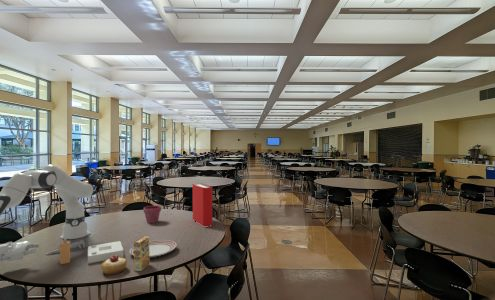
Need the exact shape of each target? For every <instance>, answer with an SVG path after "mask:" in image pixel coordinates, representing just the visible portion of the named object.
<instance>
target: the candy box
mask: <svg viewBox="0 0 495 300" xmlns="http://www.w3.org/2000/svg"><path fill="white" fill-rule="evenodd" d="M149 241H150V237H149V236H141V237H140V238H138V239H137V240H135V241H134V242H133V247H134V255H133V265H134V266H133V267H134V268H133V270H134V272H142V271H143V270H145V269H146V268H147V267H149V266H150V263H151V261H150V259H151V258H150V256H149Z"/></svg>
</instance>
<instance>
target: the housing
mask: <svg viewBox="0 0 495 300" xmlns="http://www.w3.org/2000/svg"><path fill="white" fill-rule="evenodd" d="M114 255H117V256H118V258H119V257H121V258H122V257H123V258H124V247H123V244H122V242H121V241H120V240H118V241H112V242H107V243H99V244H94V245H89V246H87V264H94V263H98V262H104V261H106V260H108V259H110V258H111V257H112V256H114Z"/></svg>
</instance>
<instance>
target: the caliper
mask: <svg viewBox="0 0 495 300" xmlns="http://www.w3.org/2000/svg"><path fill="white" fill-rule="evenodd" d="M85 246H86V244H85V240H84V239H79V241H75V242H73V243H70V249H74V248H77V247H78V248H79V249H80V250H82V247H83V249H85ZM58 252H59V253H60V248H57V249H54V250H51V251H48V252H47V253H45V255H44V256H49V255H53V254H55V253H58Z"/></svg>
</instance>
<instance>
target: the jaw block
mask: <svg viewBox="0 0 495 300" xmlns="http://www.w3.org/2000/svg"><path fill="white" fill-rule="evenodd" d="M70 245H71V240H67V239H63V241H60V243H59V249H60V251H59V264H60V265H64V264H69V263H71V248H70Z"/></svg>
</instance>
